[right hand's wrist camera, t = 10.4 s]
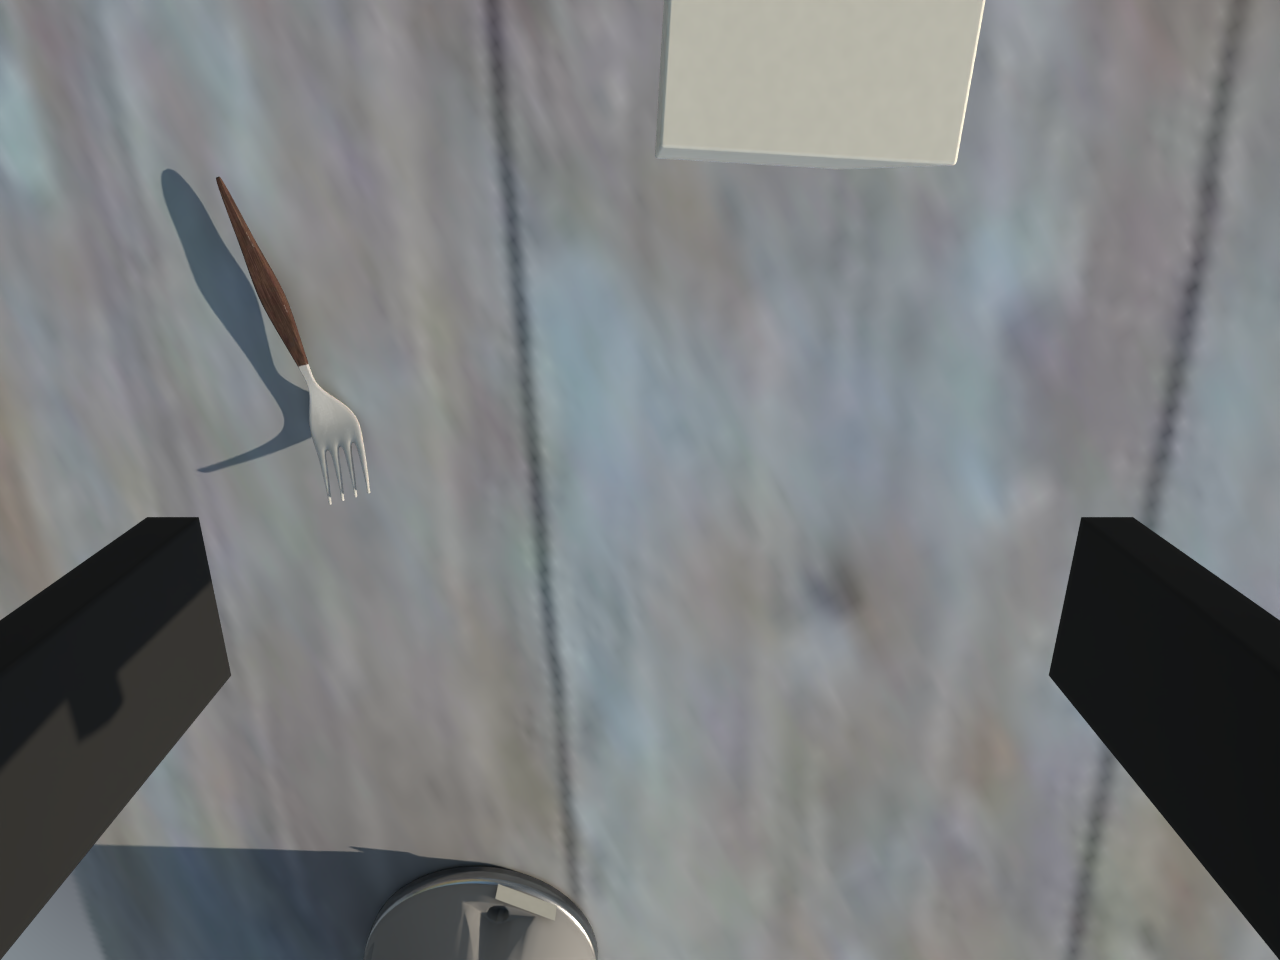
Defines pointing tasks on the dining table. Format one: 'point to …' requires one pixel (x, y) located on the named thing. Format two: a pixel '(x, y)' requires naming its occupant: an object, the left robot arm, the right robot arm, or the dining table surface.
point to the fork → (300, 359)
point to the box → (816, 81)
